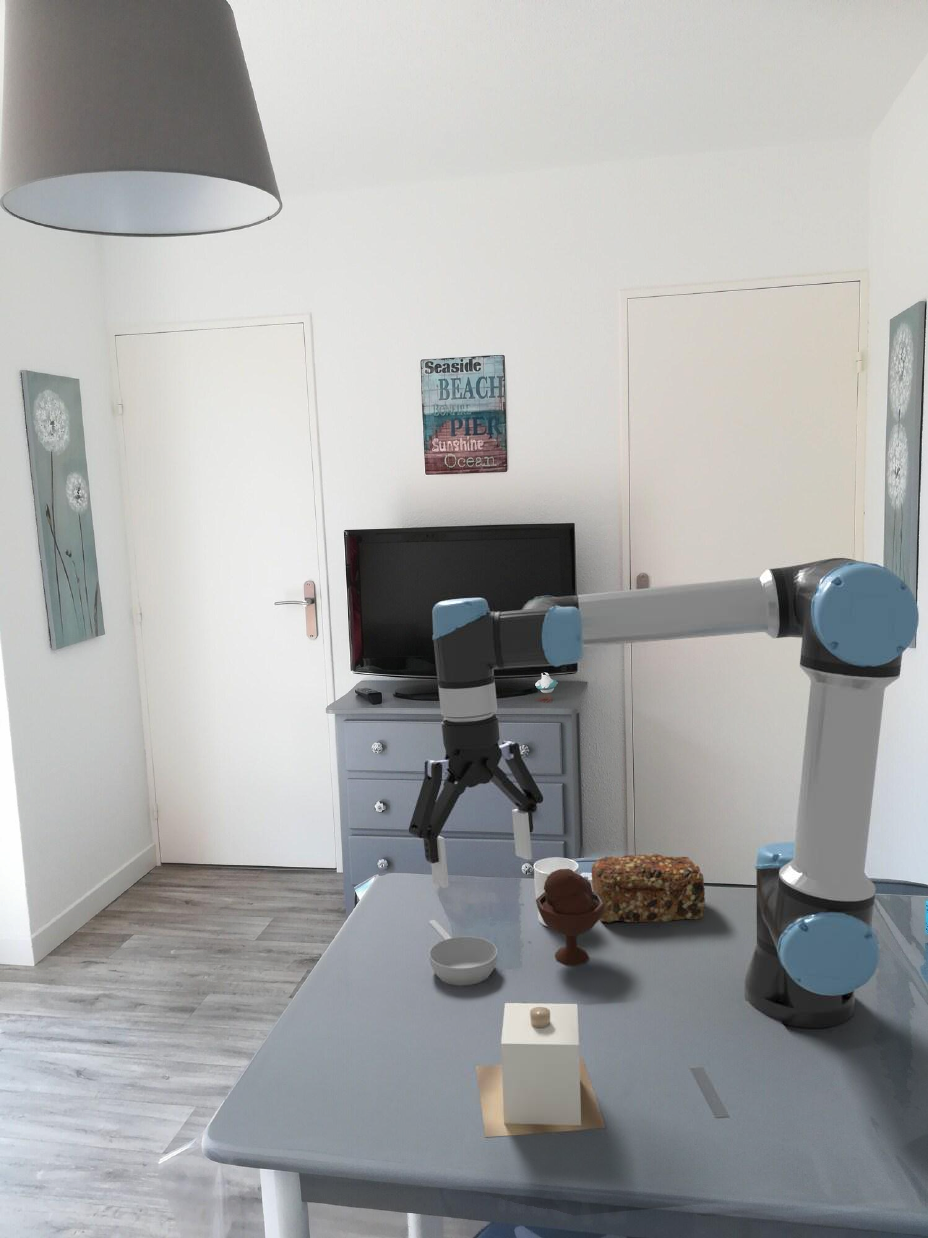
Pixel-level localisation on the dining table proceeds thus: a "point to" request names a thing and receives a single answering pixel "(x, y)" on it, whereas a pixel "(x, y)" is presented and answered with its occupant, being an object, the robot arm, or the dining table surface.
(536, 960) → the dining table surface
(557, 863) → the white cup
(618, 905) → the bread
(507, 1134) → the board
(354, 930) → the dining table surface
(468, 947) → the saucepan
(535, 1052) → the knobbed white box
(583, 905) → the ice cream bowl
